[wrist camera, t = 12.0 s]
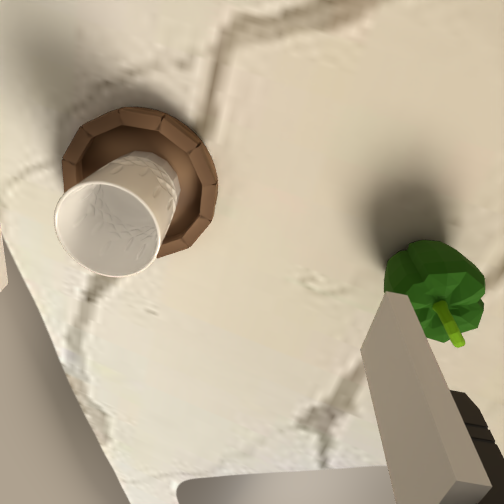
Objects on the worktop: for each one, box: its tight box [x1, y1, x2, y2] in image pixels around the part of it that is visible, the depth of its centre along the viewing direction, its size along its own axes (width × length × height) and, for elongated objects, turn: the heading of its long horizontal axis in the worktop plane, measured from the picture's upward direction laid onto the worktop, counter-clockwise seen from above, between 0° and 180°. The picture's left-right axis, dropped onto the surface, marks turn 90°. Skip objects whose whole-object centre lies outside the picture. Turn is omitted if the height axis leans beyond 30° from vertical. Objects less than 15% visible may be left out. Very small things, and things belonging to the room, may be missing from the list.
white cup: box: [54, 151, 181, 277], centre depth 35 cm, size 8×8×10 cm
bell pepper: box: [384, 240, 485, 348], centre depth 38 cm, size 8×8×10 cm
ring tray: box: [62, 107, 218, 258], centre depth 39 cm, size 14×14×2 cm
